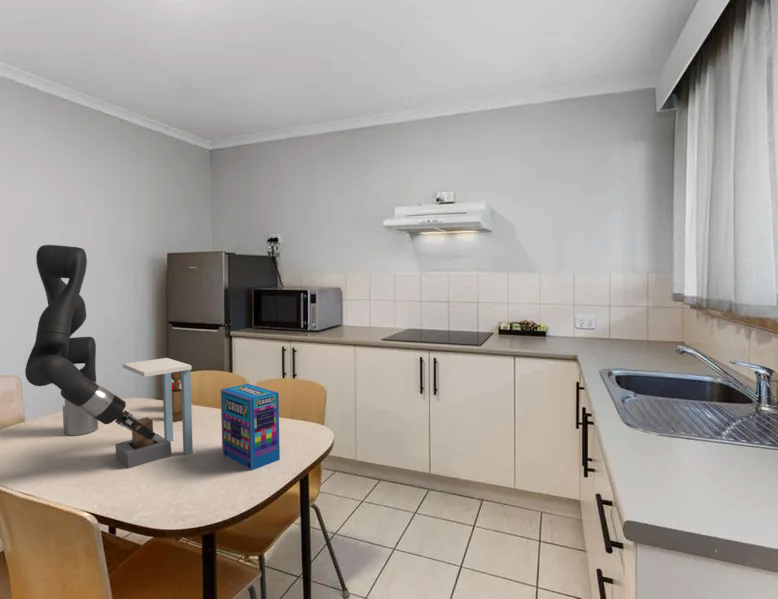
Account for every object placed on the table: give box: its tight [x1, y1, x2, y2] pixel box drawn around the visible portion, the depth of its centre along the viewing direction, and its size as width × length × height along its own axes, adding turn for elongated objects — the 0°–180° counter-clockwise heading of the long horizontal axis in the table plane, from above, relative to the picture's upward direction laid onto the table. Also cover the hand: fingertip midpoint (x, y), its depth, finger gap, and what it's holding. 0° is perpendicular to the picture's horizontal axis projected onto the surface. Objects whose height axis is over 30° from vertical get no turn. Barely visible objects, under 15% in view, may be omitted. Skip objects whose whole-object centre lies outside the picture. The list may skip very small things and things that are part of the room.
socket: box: [115, 433, 172, 469], centre depth 128 cm, size 12×12×4 cm
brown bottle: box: [171, 371, 182, 423], centre depth 162 cm, size 7×6×18 cm
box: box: [220, 383, 281, 471], centre depth 127 cm, size 17×9×20 cm, turn 49°
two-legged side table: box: [122, 357, 194, 455], centre depth 131 cm, size 13×19×27 cm
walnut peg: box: [131, 416, 154, 449], centre depth 128 cm, size 4×4×11 cm
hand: (147, 433), depth 129 cm, fingers open, 8 cm apart
